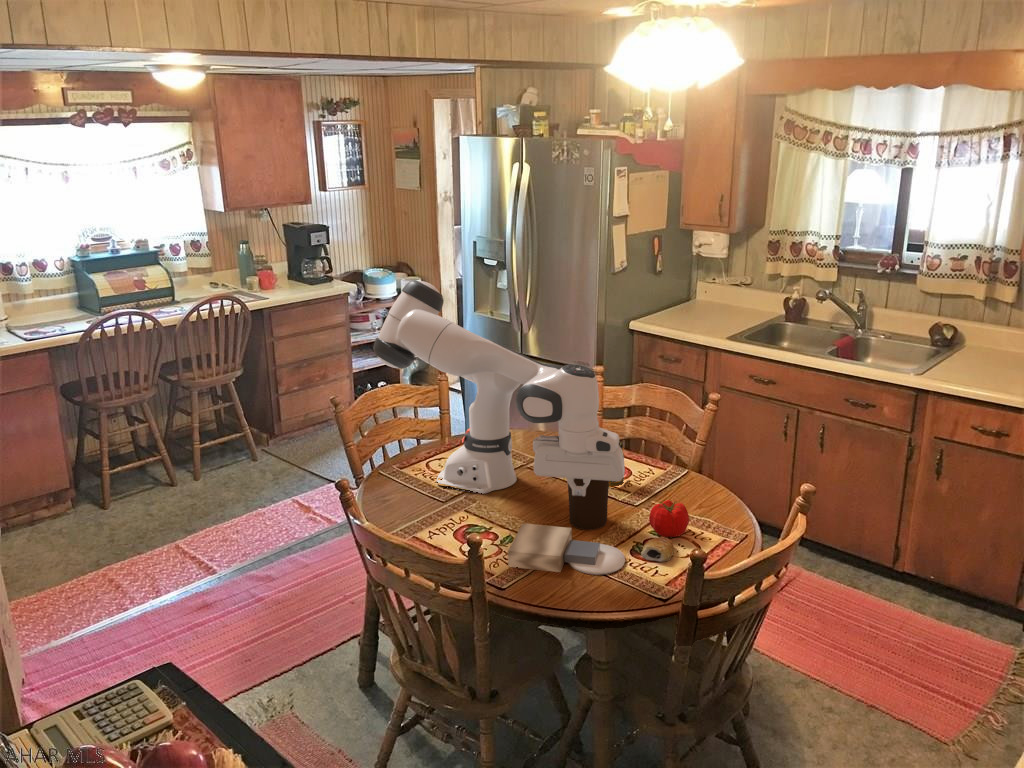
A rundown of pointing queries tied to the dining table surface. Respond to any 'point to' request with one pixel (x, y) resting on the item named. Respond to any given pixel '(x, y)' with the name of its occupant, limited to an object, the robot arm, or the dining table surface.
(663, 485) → the dining table surface
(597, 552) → the grey rounded eraser
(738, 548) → the dining table surface
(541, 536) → the beige flat square block
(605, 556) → the plate
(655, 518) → the tomato
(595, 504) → the olive oil
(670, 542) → the pastry
